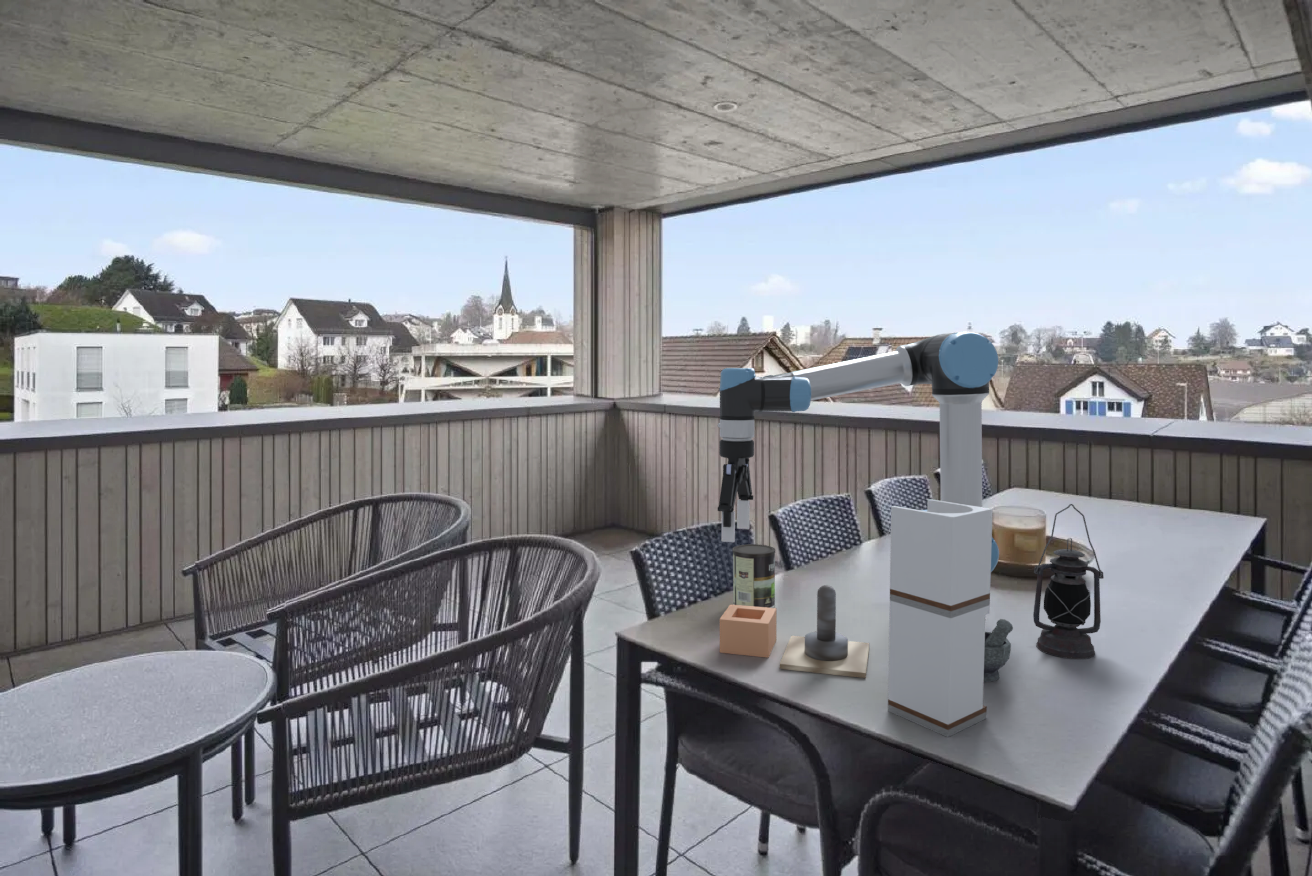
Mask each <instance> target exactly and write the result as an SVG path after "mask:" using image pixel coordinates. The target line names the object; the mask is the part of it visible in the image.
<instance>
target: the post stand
mask: <svg viewBox="0 0 1312 876" xmlns="http://www.w3.org/2000/svg"><path fill="white" fill-rule="evenodd" d="M816 593H817V594H816V595H817V597H816V599H817V600H816V631H811V632H808V633H806V634H805V635H804V636H800V635H799V636H798V635H791V636H790V638H789V640H788V643H787V645H786V647H785V650H784V653H783V655H782V658H781V660H780V662H779V670H787V671H788V670H789V671H797V672H807V673H814V674H824V675H834V676H844V677H851V678H854V677H855V678H860V679H866V676H867V671H868V670H867V669H868V661H869V653H870V642H862V641H851V640H849V639H848V637H847V636H845V635H844V634H841V633H839V632H836V630H837V629H836V627H837V626H836V625H837V624H836V621H837V619H836V617H837V616H836V613H837V609H836V608H837V593H836V590H835V589H834V587H832V586H831V585H829V584H824V585H821V586H820V587H818V589H817V592H816Z"/></svg>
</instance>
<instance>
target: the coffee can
mask: <svg viewBox="0 0 1312 876" xmlns="http://www.w3.org/2000/svg"><path fill="white" fill-rule="evenodd" d="M731 550H732V583H733V584H732V585H733V587H732V590H733V592H732V593H733V594H732V595H733V596H732V597H733V603H732V605H743V606H755V607H767V608H776V598H775V597H776V592H775V591H776V589H775V588H776V587H775V586H776V585H775V584H776V583H775V582H776V577H775V576H776V569H775V567H776V562H775V561H776V548H775V547H773V546H770V545H766V544H758V543H757V544H755V543H751V544H749V543H748V544H740V545H737V546H734V547H732V549H731Z"/></svg>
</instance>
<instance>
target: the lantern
mask: <svg viewBox="0 0 1312 876" xmlns="http://www.w3.org/2000/svg"><path fill="white" fill-rule="evenodd" d="M1071 506H1072V508H1073V509H1074V511H1076V512H1077V513H1078V514H1079V515H1081V516H1082V520H1083V524H1084V526H1085V532H1086V535H1087V539H1088V543H1089V546H1090V547H1091V550H1092V552H1093V556H1094V559H1095V563H1096V567H1097V568H1096V567H1094V566H1089V563H1088V562H1086V561H1085V560H1083V559H1080V558H1084V557H1085V556H1086V554H1085V553H1083V552H1081V551H1079V550H1075V549H1073V538H1071V537H1070V538H1067V540H1066V543H1067V544H1066V548H1061V549H1056V550H1054V551H1053V554H1054V555H1056V556H1058V557H1054V558H1051V559H1050V560H1049V563H1042V561H1043V558H1044V555H1045V553H1046V550H1047V548H1048V546H1049V545H1050V543H1051V541H1052V539H1053V536H1054V532H1055V527H1056V520H1057V515H1059V514H1061V513H1062V512H1064V511H1066V510H1067V509H1069V508H1070V507H1071ZM1069 540H1070V548H1069ZM1033 569H1034V571H1033V573H1034V574H1036V575H1037V577H1036V588H1035V598H1034V605H1033V616H1032V617H1033V622H1034V625H1035V627H1036V628H1039V629H1042V630H1041V631H1040V636H1038V638H1037V642H1036V643H1035V646H1036V648H1037V650H1038V649H1039V651H1041V652H1042V653H1045V654H1048V655H1050V656H1054V657H1058V658H1064V659H1071V660H1086V659H1090V658H1093V657H1094V656H1095V655H1096V651H1095V645H1093V643H1092V637H1091V636H1090V634H1094V633H1098V631H1099V630H1100V628H1101V594H1100V593H1101V591H1100V589H1101V588H1100V587H1101V585H1100V581H1101V580H1102V579H1104V578H1105V577H1104V572H1103V571H1102V569H1101V568H1100V564H1099V561H1098V558H1097V554H1096V551H1095V549H1094V547H1093V544H1092V542H1091V538H1090V535H1089V531H1088V526H1087V522H1086V517H1085V515H1084V514H1083V513H1082V512H1081V511H1080V510H1078V508H1076V507H1075V505H1074V504H1073V503H1069V505H1068V506H1067V507H1065V508H1064V509H1063V508H1062V510H1059V511H1058V512H1056V513H1054V519H1053V525H1052V530H1051V534H1050V538H1049V540H1048V541H1047V542H1046V545H1045V547H1044V549H1043V552H1042V554H1041V557H1040V559H1039V562H1038V564H1037V565H1034V568H1033ZM1046 569H1050V571H1051V572H1052V573H1054V574H1053V575H1051V577H1050V581H1049V583H1047V584H1046V588H1045V591H1044V598H1043V610H1044V612H1045V613H1046V616H1047V619H1048V620H1049V621H1050V623H1052V624H1054V626H1053V625H1050V624H1046V623H1043V622H1041V621H1040V611H1041V600H1042V591H1043V590H1042V588H1043V578H1044V577H1043V575H1044V570H1046ZM1087 571H1088V572H1091V573H1092V574H1093V613H1094V614H1093V625H1092V626H1090V627H1083V628H1079V627H1080V626H1084V625H1085V624H1086V620H1087V619H1088V618H1089V617H1090V615H1091V607H1092V603H1091V590H1089V589H1088V587H1087V585H1086V582H1087V581H1086V579H1084V578H1083V576H1084V575H1087ZM1100 579H1101V580H1100Z"/></svg>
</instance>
